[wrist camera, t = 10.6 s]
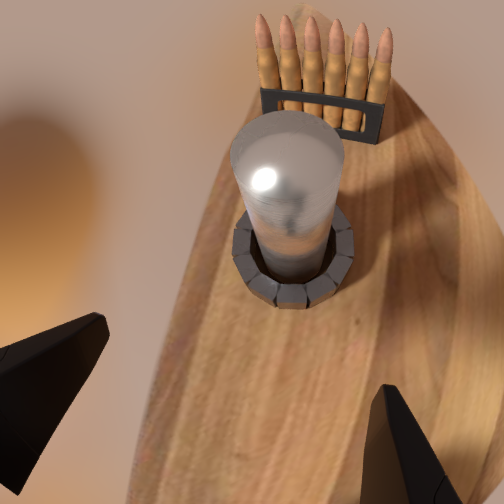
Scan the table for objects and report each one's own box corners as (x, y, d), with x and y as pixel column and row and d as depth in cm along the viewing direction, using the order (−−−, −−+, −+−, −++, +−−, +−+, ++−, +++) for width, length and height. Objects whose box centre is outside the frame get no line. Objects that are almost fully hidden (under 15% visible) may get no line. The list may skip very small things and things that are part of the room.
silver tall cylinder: (281, 294, 22) (262, 219, 10) (254, 244, 24) (213, 137, 12) (334, 266, 22) (367, 168, 11) (304, 218, 24) (305, 97, 12)
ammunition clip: (377, 131, 26) (400, 25, 15) (377, 145, 25) (403, 36, 14) (268, 115, 28) (250, 9, 17) (263, 128, 28) (243, 20, 17)
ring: (270, 329, 21) (266, 325, 19) (222, 235, 24) (214, 221, 22) (368, 274, 22) (376, 264, 19) (312, 189, 25) (313, 172, 22)
